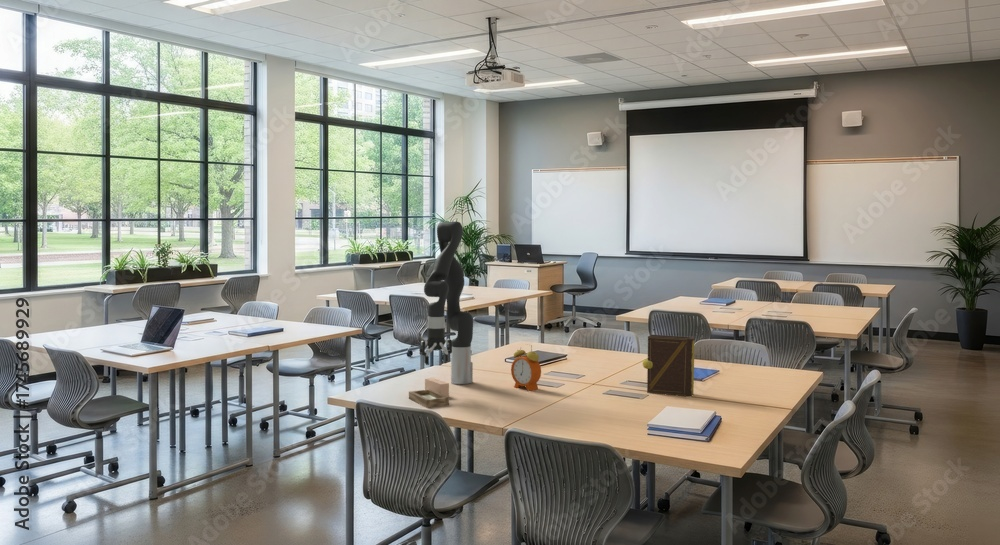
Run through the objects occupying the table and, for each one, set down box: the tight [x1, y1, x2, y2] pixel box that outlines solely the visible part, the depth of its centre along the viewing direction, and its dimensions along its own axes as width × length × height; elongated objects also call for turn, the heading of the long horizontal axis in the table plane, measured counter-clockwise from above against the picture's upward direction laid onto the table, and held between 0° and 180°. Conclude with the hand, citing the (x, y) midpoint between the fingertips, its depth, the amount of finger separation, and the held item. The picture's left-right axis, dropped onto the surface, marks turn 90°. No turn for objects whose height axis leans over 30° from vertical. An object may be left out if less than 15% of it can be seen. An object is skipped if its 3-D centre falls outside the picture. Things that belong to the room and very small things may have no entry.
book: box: [642, 334, 695, 397], centre depth 338 cm, size 22×8×25 cm, turn 65°
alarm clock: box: [510, 344, 542, 392], centre depth 347 cm, size 13×6×20 cm, turn 47°
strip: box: [424, 377, 450, 397], centre depth 336 cm, size 4×14×6 cm, turn 34°
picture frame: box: [408, 389, 450, 409], centre depth 322 cm, size 10×18×3 cm, turn 30°
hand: (436, 363), depth 335 cm, fingers open, 8 cm apart
